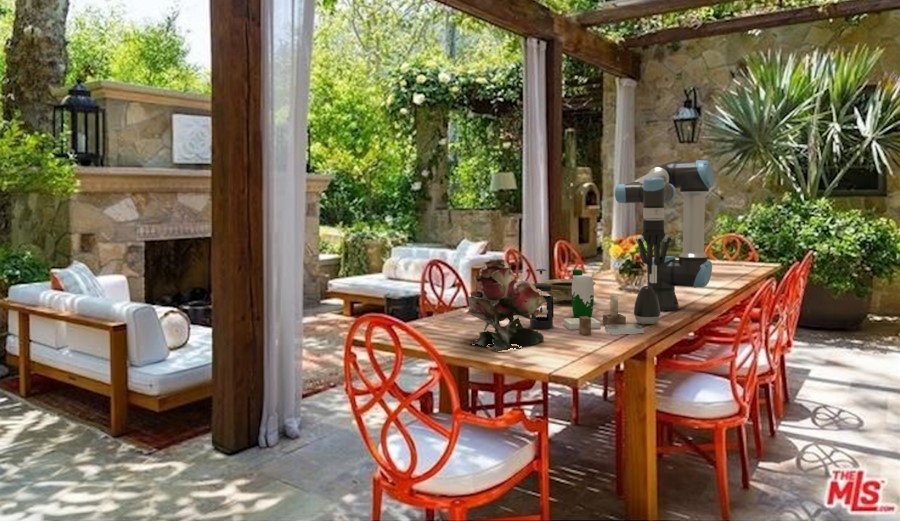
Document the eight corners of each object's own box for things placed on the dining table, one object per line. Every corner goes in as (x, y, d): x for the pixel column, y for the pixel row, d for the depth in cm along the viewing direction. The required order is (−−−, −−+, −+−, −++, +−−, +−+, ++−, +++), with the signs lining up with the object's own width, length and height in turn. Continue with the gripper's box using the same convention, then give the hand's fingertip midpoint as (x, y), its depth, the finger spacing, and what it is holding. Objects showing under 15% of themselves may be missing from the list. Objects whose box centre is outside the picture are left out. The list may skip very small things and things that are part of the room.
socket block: (619, 323, 274) (619, 313, 274) (625, 327, 267) (625, 316, 267) (602, 324, 274) (602, 314, 273) (608, 327, 267) (608, 317, 266)
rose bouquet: (553, 339, 249) (553, 256, 246) (504, 354, 227) (503, 264, 224) (497, 330, 266) (496, 253, 263) (447, 344, 244) (445, 260, 241)
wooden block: (587, 331, 260) (587, 316, 259) (590, 334, 255) (590, 318, 254) (579, 332, 260) (579, 316, 259) (583, 334, 255) (583, 319, 254)
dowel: (616, 324, 272) (616, 294, 271) (619, 326, 269) (619, 296, 268) (609, 325, 272) (609, 295, 271) (611, 326, 269) (611, 296, 268)
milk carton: (572, 315, 295) (571, 268, 293) (593, 315, 293) (593, 268, 291) (571, 318, 286) (571, 271, 284) (593, 319, 284) (593, 271, 282)
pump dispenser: (660, 321, 277) (661, 284, 275) (659, 326, 267) (660, 287, 265) (634, 320, 280) (634, 283, 278) (632, 325, 270) (632, 287, 269)
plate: (635, 330, 263) (635, 323, 263) (644, 335, 255) (644, 328, 254) (605, 331, 263) (605, 325, 262) (612, 336, 254) (612, 329, 253)
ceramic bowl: (573, 309, 308) (573, 287, 307) (530, 304, 324) (530, 283, 323) (608, 300, 329) (608, 280, 328) (566, 296, 346) (566, 276, 345)
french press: (541, 330, 264) (541, 271, 261) (523, 327, 271) (522, 269, 268) (561, 326, 271) (560, 268, 269) (543, 323, 279) (542, 266, 276)
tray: (592, 323, 275) (593, 317, 275) (600, 328, 265) (600, 322, 265) (563, 325, 274) (563, 318, 274) (569, 330, 264) (569, 323, 264)
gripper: (639, 220, 251) (639, 284, 253) (675, 219, 252) (674, 283, 254) (632, 219, 258) (632, 281, 261) (667, 218, 259) (666, 280, 262)
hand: (653, 282), depth 257 cm, fingers closed
